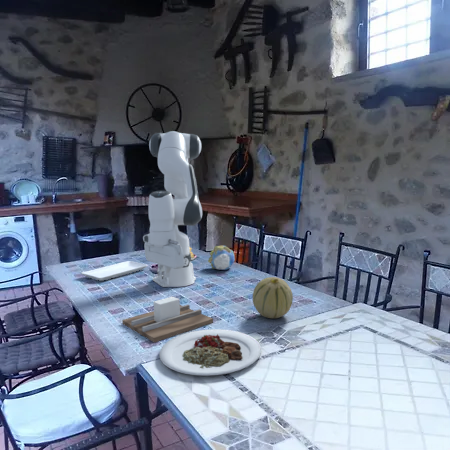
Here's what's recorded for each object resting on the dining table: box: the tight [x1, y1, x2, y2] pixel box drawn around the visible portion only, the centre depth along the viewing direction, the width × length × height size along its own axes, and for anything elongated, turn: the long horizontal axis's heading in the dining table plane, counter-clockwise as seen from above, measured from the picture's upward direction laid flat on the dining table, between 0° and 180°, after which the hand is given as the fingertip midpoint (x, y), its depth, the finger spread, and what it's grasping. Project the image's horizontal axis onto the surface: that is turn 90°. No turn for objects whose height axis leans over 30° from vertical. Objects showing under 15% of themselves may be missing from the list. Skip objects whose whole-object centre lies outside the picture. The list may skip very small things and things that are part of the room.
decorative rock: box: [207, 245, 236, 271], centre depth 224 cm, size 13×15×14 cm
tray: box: [80, 260, 149, 282], centre depth 221 cm, size 17×31×4 cm, turn 141°
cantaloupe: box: [252, 276, 294, 319], centre depth 152 cm, size 15×15×15 cm
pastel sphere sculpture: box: [189, 246, 197, 261], centre depth 252 cm, size 25×24×9 cm
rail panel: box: [121, 304, 214, 343], centre depth 150 cm, size 22×24×3 cm
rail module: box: [152, 295, 181, 322], centre depth 150 cm, size 4×9×7 cm, turn 130°
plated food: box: [158, 328, 262, 376], centre depth 125 cm, size 30×30×3 cm
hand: (165, 276), depth 148 cm, fingers closed
